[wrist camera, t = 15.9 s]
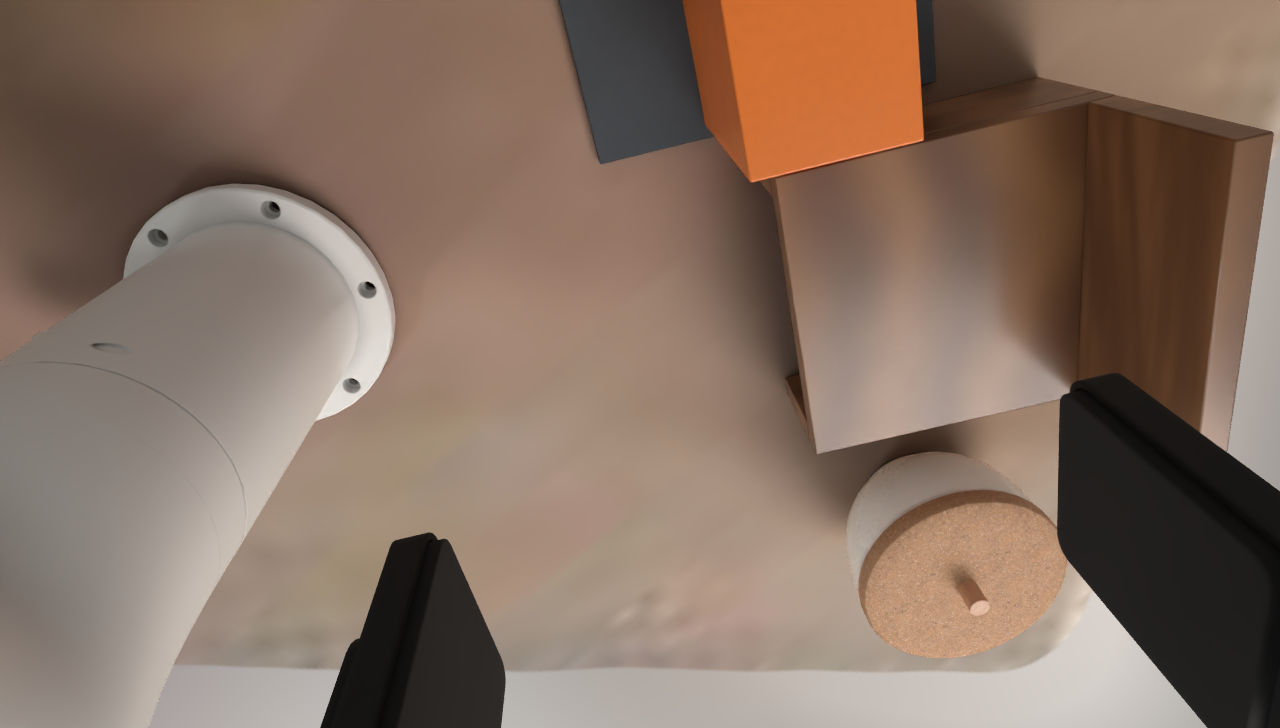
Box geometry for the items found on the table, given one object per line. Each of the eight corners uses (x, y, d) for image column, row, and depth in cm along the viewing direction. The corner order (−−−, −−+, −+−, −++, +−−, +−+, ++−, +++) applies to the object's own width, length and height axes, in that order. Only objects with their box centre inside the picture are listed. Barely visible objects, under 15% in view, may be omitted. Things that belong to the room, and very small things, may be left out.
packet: (705, 126, 36) (749, 183, 26) (664, -93, 32) (700, -121, 22) (832, 94, 36) (925, 141, 26) (807, -130, 32) (907, -175, 22)
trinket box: (790, 535, 48) (834, 654, 40) (883, 394, 44) (954, 494, 35) (933, 583, 50) (1002, 704, 42) (1033, 454, 46) (1132, 560, 38)
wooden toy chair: (787, 395, 43) (869, 566, 31) (747, 148, 37) (830, 237, 25) (1036, 338, 43) (1222, 489, 30) (1039, 76, 36) (1275, 131, 24)
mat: (600, 162, 37) (600, 164, 37) (541, -72, 32) (540, -73, 32) (932, 80, 36) (936, 81, 36) (919, -171, 32) (923, -173, 31)
